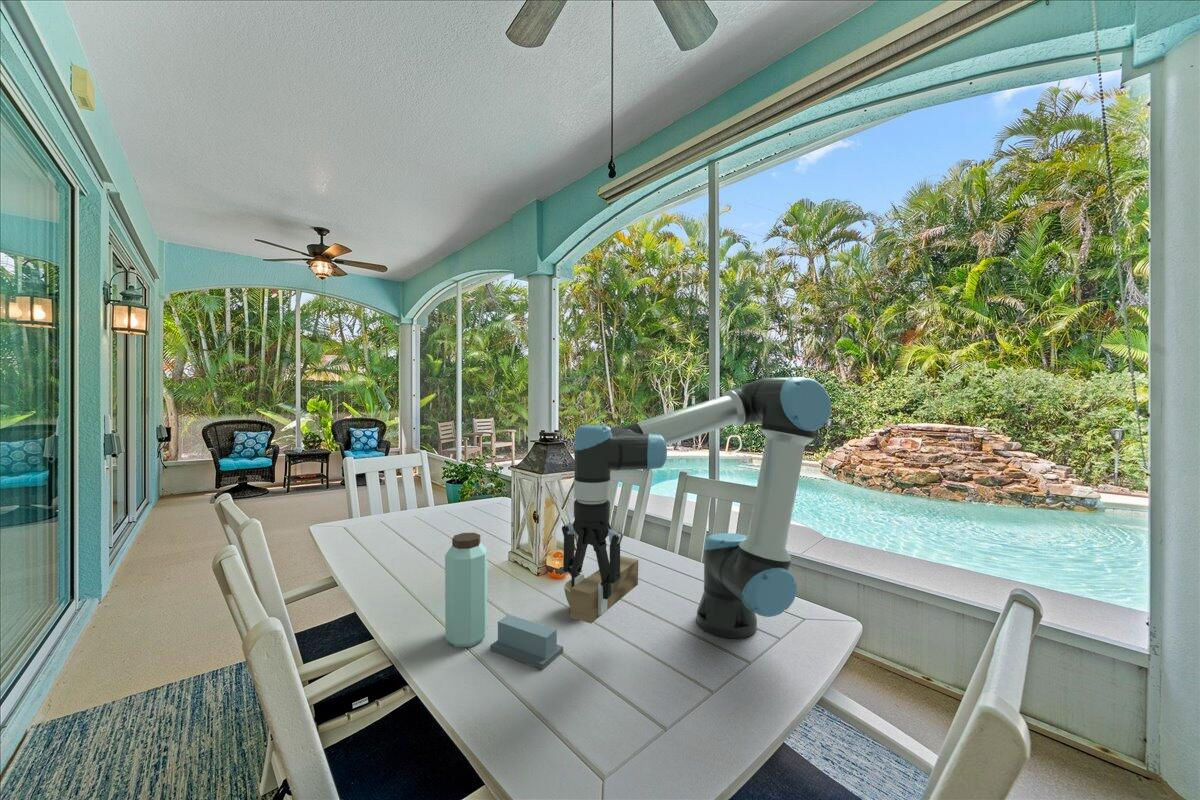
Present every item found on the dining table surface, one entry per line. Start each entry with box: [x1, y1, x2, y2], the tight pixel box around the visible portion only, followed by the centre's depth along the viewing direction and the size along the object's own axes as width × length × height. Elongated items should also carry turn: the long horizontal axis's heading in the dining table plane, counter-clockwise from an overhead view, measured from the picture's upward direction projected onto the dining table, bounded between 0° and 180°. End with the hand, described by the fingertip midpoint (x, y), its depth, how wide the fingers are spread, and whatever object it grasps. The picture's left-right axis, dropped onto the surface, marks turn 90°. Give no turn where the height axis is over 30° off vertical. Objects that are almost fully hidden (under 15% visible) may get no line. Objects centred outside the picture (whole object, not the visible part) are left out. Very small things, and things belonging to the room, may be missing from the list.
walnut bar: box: [569, 555, 639, 624], centre depth 105 cm, size 22×5×6 cm, turn 150°
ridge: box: [489, 614, 564, 671], centre depth 110 cm, size 15×8×6 cm, turn 61°
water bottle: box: [444, 532, 488, 648], centre depth 115 cm, size 10×10×25 cm
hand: (590, 609), depth 99 cm, fingers closed on walnut bar, 5 cm apart
